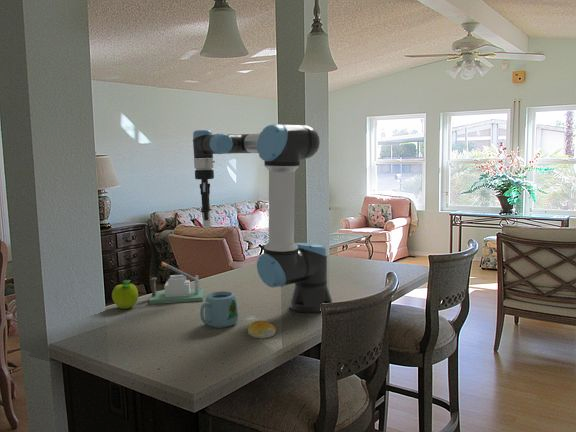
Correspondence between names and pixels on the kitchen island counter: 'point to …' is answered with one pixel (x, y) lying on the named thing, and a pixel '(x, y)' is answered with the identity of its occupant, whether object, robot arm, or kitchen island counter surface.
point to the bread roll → (261, 329)
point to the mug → (220, 310)
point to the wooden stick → (178, 271)
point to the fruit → (125, 295)
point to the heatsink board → (177, 299)
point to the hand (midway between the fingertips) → (206, 227)
